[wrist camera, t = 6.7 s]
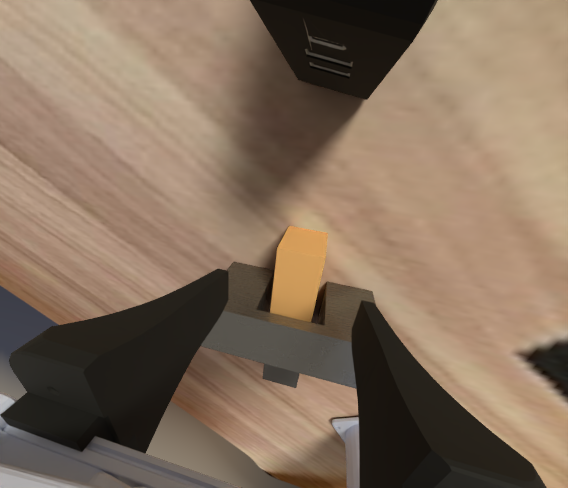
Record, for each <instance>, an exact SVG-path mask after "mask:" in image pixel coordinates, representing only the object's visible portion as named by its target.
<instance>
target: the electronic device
mask: <svg viewBox="0 0 568 488" xmlns="http://www.w3.org/2000/svg"><path fill="white" fill-rule="evenodd" d="M250 1H251V3H252V5H253V6H254V8H255V10H256V11H257V13H258V14H259V16H260V18H261V19H262V21H263V23H264V24H265V26H266V28H267V29H268V31H269V32H270V34H271V36H272V37H273V39H274V41H275V42H276V44H277V46H278V47H279V49H280V50H281V52H282V54H283V55H284V57H285V59H286V60H287V62H288V64H289V65H290V67H291V69H292V70H293V72H294V73H295V75H296V77H297V78H298V80H301V81H304V82H308V83H311V84H315V85H318V86H322V87H325V88H328V89H332V90H335V91H339V92H342V93H346V94H349V95H353V96H356V97H360V98H363V99H368V98H369V97H370V95H371V94H372V93H373V91H374V90H375V89H376V88H377V86H378V85H379V84H380V83H381V81H382V80H383V79H384V77H385V76H386V75H387V74H388V72H389V71H390V70H391V69H392V67H393V66H394V65H395V63H396V62H397V61H398V60H399V58H400V57H401V56H402V55H403V53H404V52H405V51H406V49H407V48H408V47H409V46H410V44H411V43H412V42H413V40H414V39H415V37H416V36H417V34H418V33H419V31H420V29H421V28H422V26H423V25H424V23H425V22H426V20H427V18H428V17H429V15H430V14H431V12H432V10H433V9H434V7H435V5H436V3H437V1H438V0H250Z"/></svg>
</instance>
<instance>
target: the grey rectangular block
mask: <svg viewBox="0 0 568 488" xmlns="http://www.w3.org/2000/svg"><path fill="white" fill-rule="evenodd" d="M227 271H229V291H228V302H227V304H226V306H225V308H224V310H223V312H222V314H221V316H220V318H219V319H218V321H217V322H216V324H215V325H214V327H213V328H212V330H211V331H210V333H209V334H208V335H207V337H206V338H205V340H204V341H203V343H202V344H201V346H202V347H206V348H209V349H213V350H217V351H220V352H224V353H228V354H231V355H235V356H239V357H242V358H246V359H250V360H253V361H257V362H261V363H264V364H268V365H272V366H275V367H279V368H283V369H286V370H290V371H294V372H297V373H301V374H305V375H308V376H312V377H316V378H319V379H323V380H327V381H330V382H334V383H338V384H341V385H345V386H349V387H352V388H356V380H355V372H354V365H353V356H352V342H351V336H352V326H353V324H354V321H355V318H356V315H357V312H358V309H359V306H360V303H361V300H363V301H368V302H373V303H374V304H375V300H374V296H373V292H372V291H369V290H364V289H359V288H354V287H350V286H345V285H340V284H336V283H331V282H327V284H326V288H325V292H324V297H323V301H322V305H321V309H320V313H319V317H318V324H315V323H311V322H307V321H303V320H298V319H294V318H290V317H286V316H282V315H278V314H273V313H269V312H268V310H269V308H270V303H271V294H272V285H273V276H274V270H270V269H265V268H261V267H256V266H251V265H247V264H242V263H237V262H233V264H232V265H231V266H230V267H229V268H228V270H227ZM375 305H376V304H375ZM356 389H357V388H356Z"/></svg>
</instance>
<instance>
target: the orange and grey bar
mask: <svg viewBox="0 0 568 488" xmlns="http://www.w3.org/2000/svg"><path fill="white" fill-rule="evenodd" d="M327 234H328V233H325V232H319V231H314V230H309V229H303V228H298V227H292V226H289V227H288V229H287V231H286V233H285V235H284V236H283V238H282V240H281V242H280V244H279V246H278V248H277V255H276V264H275V273H274V282H273V291H272V300H271V308H270V313H273V314H278V315H282V316H286V317H290V318H294V319H298V320H303V321H307V322H311V320H312V316H313V311H314V307H315V302H316V298H317V294H318V289H319V285H320V280H321V276H322V272H323V267H324V263H325V258H326V247H327ZM298 377H299V373H297V372H294V371H290V370H286V369H283V368H279V367H275V366H272V365H268V364H264V371H263V379H265V380H269V381H272V382H276V383H280V384H283V385H287V386H290V387H294V388H296V386H297V382H298Z"/></svg>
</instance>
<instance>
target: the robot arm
mask: <svg viewBox="0 0 568 488" xmlns="http://www.w3.org/2000/svg"><path fill="white" fill-rule="evenodd" d="M228 291H229V271H226V270H221V269H217V270H215V271H213V272H211V273H209V274H207V275H205V276H203V277H202V278H200V279H198V280H196V281H194V282H192V283H190V284H188V285H186V286H184V287H182V288H180V289H178V290H176V291H174V292H172V293H169V294H167V295H165V296H163V297H160V298H158V299H155V300H153V301H150V302H147V303H145V304H142V305H139V306H136V307H132V308H129V309H126V310H123V311H120V312H116V313H113V314H109V315H105V316H101V317H97V318H93V319H88V320H84V321H79V322H73V323H68V324H63V325H58V326H52V327H50V328H49V329H47V330H46V331H44V332H43V333H41V334H40V335H38V336H37V337H35V338H34V339H32V340H31V341H29V342H28V343H26V344H25V345H23V346H22V347H20V348H19V349H17V350H16V351H14V352H13V353H11V356H10V359H9V362H10V366H11V368H12V370H13V372H14V373H15V374H16V376H17V377H18V379H19V380H20V382H21V383H22V385H23V386H24V388H25V389H26V391H27V393H26V394H25V395H24V396H22V397H21V398H20V399H19V400H16V399H15V398H14V397H12V396H10V395H8V394H5V393H2V392H0V488H241V487H238V486H235V485H233V484H230V483H227V482H224V481H221V480H218V479H216V478H213V477H210V476H207V475H204V474H201V473H198V472H196V471H193V470H190V469H187V468H184V467H182V466H179V465H176V464H173V463H170V462H167V461H165V460H162V459H159V458H156V457H153V456H150V455H148V454H145V453H146V451H147V449H148V447H149V444H150V442H151V440H152V438H153V436H154V434H155V431H156V429H157V427H158V425H159V423H160V420H161V418H162V416H163V414H164V412H165V410H166V408H167V406H168V404H169V402H170V400H171V398H172V396H173V394H174V392H175V390H176V388H177V386H178V384H179V382H180V381H181V379H182V377H183V375H184V373H185V371H186V369H187V367H188V366H189V364H190V362H191V360H192V358H193V357H194V355H195V353H196V352H197V350H198V349H199V347H200V346H201V344H202V343H203V341H204V340H205V338H206V337H207V335H208V334H209V333H210V331H211V330H212V328H213V327H214V325H215V324H216V322H217V321H218V319H219V318H220V316H221V314H222V312H223V310H224V308H225V306H226V304H227V302H228ZM351 342H352V356H353V365H354V372H355V380H356V388H357V397H358V413H359V417H352V418H341V419H333V420H332V425H333V427H334V428H335V430H336V431H337V433H338V434H339V435H340V437H341V438H342V440H343V441H344V443H345V446H346V475H347V488H546V486H545V484H544V483H543V481H542V480H541V478H540V476H539V475H538V473H537V471H536V470H535V468H534V467H533V465H532V464H531V463H530V462H529V461H528V460H527V459H525V458H524V457H523V456H521V455H520V454H519V453H518V452H516V451H515V450H514V449H513V448H511V447H510V446H509V445H508V444H506V443H505V442H504V441H502V440H501V439H500V438H499V437H497V436H496V435H495V434H494V433H492V432H491V431H490V430H489V429H488V428H486V427H485V426H484V425H483V424H482V423H481V422H479V421H478V420H477V419H476V418H475V417H474V416H472V415H471V414H470V413H469V412H468V411H467V410H466V409H465V408H463V407H462V406H461V405H460V404H459V403H458V402H457V401H456V400H455V399H454V398H453V397H452V396H451V395H449V394H448V393H447V392H446V391H445V390H444V389H443V388H442V387H441V386H440V385H439V384H438V383H437V382H436V381H435V380H434V379H433V378H432V377H431V376H430V375H429V373H428V372H427V371H426V370H425V369H424V368H423V367H422V366H421V365H420V364H419V363H418V361H417V360H416V359H415V358H414V357H413V356H412V354H411V353H410V352H409V351H408V349H407V348H406V347H405V346H404V345H403V343H402V342H401V341H400V339H399V338H398V337H397V335H396V334H395V333H394V331H393V330H392V328H391V327H390V326H389V324H388V323H387V321H386V320H385V318H384V317H383V315H382V314H381V312H380V311H379V310H378V308H377V307H376V305H375V304H374V303H373V302H368V301H363V300H361V303H360V306H359V309H358V312H357V315H356V318H355V321H354V324H353V326H352V336H351Z"/></svg>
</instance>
